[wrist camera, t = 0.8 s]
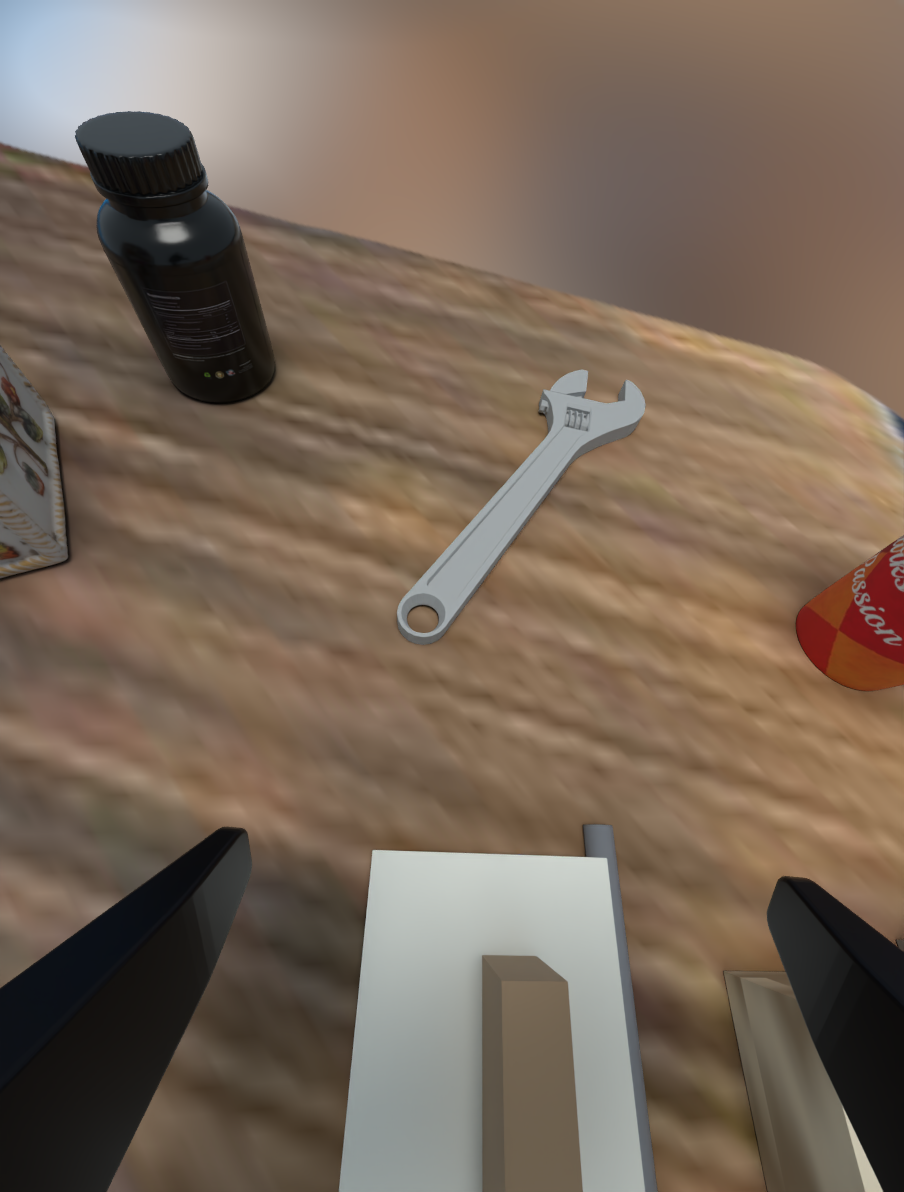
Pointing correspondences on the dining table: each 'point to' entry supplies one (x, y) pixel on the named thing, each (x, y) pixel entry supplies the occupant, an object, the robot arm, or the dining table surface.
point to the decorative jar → (28, 478)
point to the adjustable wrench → (520, 497)
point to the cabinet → (793, 1092)
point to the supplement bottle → (178, 255)
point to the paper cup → (860, 624)
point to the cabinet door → (496, 1028)
